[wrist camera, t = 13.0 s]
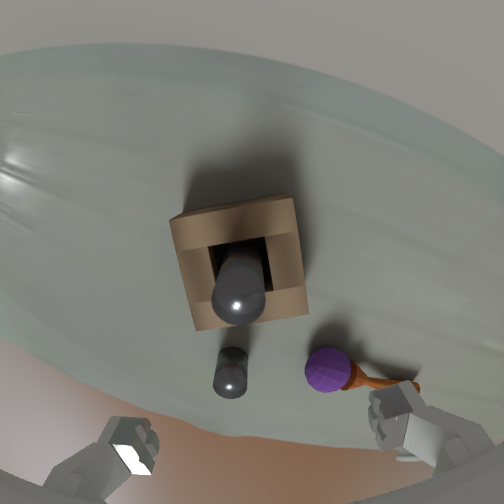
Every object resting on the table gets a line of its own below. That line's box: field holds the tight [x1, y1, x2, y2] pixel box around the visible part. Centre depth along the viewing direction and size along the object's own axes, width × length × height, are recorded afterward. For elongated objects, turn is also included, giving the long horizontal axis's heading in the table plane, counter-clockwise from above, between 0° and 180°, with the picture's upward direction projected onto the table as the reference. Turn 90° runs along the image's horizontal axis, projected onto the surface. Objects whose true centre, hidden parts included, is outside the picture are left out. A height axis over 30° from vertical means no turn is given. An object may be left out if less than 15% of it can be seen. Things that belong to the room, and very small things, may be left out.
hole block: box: [169, 194, 309, 331], centre depth 33 cm, size 12×12×6 cm
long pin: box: [211, 239, 266, 325], centre depth 30 cm, size 4×4×14 cm
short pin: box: [213, 347, 248, 399], centre depth 37 cm, size 4×4×6 cm
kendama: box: [305, 347, 420, 393], centre depth 38 cm, size 6×6×20 cm
